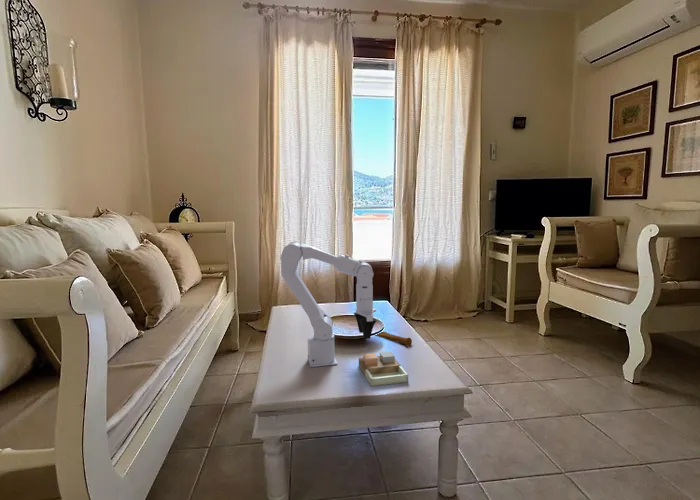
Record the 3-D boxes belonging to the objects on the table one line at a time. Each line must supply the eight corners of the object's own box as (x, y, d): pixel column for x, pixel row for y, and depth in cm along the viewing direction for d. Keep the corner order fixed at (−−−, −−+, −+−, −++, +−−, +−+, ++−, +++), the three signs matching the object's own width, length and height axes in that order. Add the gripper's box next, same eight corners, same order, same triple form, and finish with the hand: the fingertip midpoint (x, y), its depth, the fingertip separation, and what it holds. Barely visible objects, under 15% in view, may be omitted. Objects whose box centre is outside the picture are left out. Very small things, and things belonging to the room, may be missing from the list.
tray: (371, 386, 121) (371, 379, 121) (365, 376, 128) (365, 369, 127) (408, 382, 124) (408, 374, 123) (400, 372, 130) (400, 365, 130)
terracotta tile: (365, 364, 130) (365, 358, 130) (362, 360, 134) (362, 354, 134) (377, 363, 131) (377, 357, 131) (374, 358, 135) (374, 353, 135)
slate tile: (383, 362, 132) (383, 357, 132) (379, 358, 136) (379, 352, 135) (394, 361, 133) (394, 356, 132) (390, 357, 137) (390, 351, 136)
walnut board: (365, 376, 128) (365, 368, 127) (358, 365, 136) (358, 358, 136) (400, 372, 130) (400, 365, 130) (391, 361, 139) (391, 354, 139)
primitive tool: (372, 335, 167) (372, 327, 167) (381, 332, 171) (381, 324, 170) (406, 348, 153) (406, 339, 152) (416, 344, 156) (416, 336, 156)
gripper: (381, 302, 131) (381, 341, 133) (370, 292, 145) (370, 327, 147) (361, 303, 129) (361, 343, 131) (351, 293, 143) (351, 329, 145)
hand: (364, 335), depth 139 cm, fingers open, 6 cm apart
